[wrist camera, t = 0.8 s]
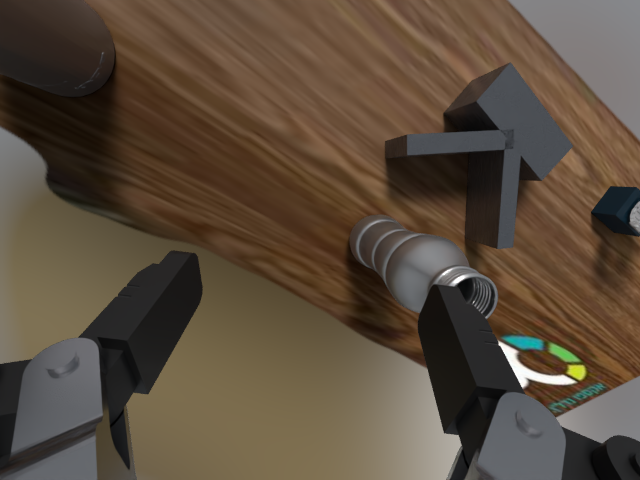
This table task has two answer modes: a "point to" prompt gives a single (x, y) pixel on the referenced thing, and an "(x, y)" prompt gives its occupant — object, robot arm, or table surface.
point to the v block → (493, 149)
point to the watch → (620, 210)
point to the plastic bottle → (418, 264)
